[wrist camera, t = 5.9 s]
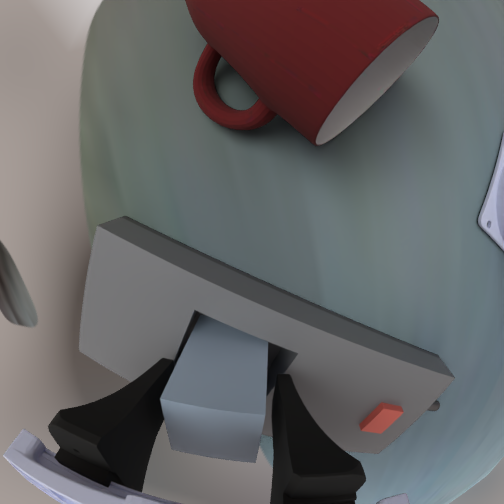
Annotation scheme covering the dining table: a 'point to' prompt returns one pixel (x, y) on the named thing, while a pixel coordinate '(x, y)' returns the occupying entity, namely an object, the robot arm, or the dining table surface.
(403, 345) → the power strip
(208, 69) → the mug
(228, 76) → the dining table surface
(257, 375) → the block
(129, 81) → the dining table surface
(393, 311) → the dining table surface
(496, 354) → the dining table surface
